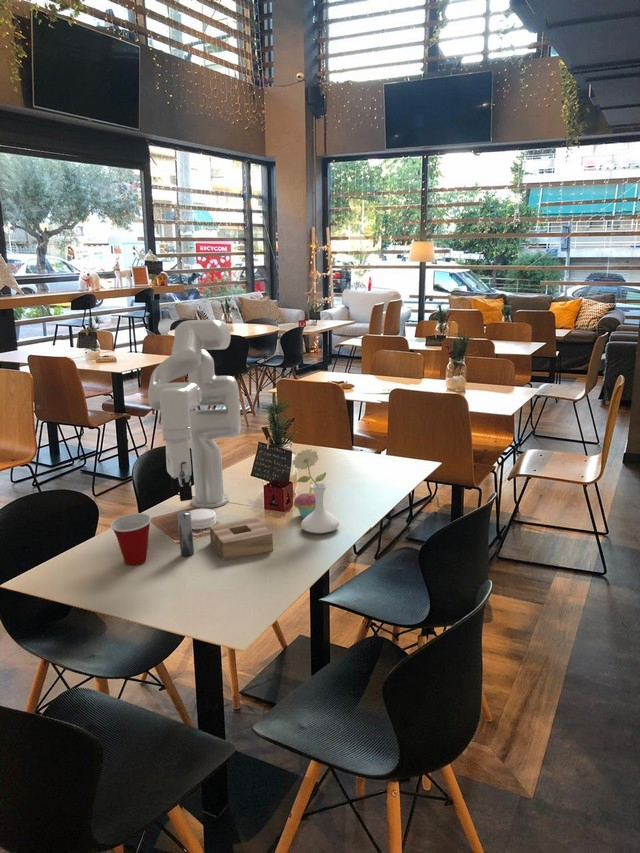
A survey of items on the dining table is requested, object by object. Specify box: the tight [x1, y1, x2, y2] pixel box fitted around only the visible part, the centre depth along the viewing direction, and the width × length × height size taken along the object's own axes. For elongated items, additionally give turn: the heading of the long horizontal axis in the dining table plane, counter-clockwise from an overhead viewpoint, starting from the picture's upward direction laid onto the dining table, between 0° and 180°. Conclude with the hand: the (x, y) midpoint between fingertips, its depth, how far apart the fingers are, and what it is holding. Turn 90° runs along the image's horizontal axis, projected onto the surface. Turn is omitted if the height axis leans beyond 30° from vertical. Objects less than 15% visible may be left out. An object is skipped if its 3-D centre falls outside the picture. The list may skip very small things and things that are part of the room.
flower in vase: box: [292, 448, 340, 534], centre depth 205 cm, size 13×11×25 cm
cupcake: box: [293, 480, 316, 519], centre depth 218 cm, size 9×8×12 cm
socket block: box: [209, 517, 274, 561], centre depth 198 cm, size 14×14×5 cm
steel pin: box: [177, 510, 195, 558], centre depth 193 cm, size 4×4×12 cm
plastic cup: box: [110, 512, 152, 566], centre depth 189 cm, size 11×11×12 cm
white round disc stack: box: [188, 508, 217, 531], centre depth 216 cm, size 10×10×4 cm
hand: (182, 495), depth 190 cm, fingers open, 9 cm apart
